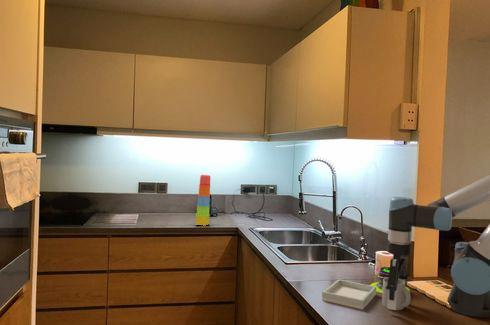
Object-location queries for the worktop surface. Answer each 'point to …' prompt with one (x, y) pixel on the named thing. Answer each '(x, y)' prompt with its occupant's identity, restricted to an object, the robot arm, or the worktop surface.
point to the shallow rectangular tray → (349, 294)
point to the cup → (400, 295)
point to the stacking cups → (203, 201)
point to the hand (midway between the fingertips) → (396, 302)
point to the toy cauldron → (382, 275)
